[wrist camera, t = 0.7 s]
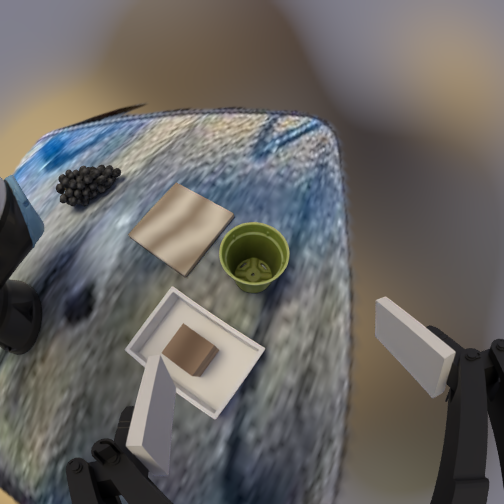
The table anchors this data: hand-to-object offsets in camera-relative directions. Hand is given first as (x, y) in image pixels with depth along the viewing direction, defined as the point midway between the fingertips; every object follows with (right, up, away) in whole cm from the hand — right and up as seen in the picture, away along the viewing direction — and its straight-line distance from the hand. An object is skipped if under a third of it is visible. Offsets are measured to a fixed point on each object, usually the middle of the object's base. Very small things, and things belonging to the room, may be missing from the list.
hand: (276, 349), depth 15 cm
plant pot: (-1, +2, +30) cm, 30 cm away
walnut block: (-10, -9, +23) cm, 27 cm away
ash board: (-14, +10, +34) cm, 38 cm away
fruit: (-36, +18, +38) cm, 55 cm away
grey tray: (-10, -10, +24) cm, 28 cm away
